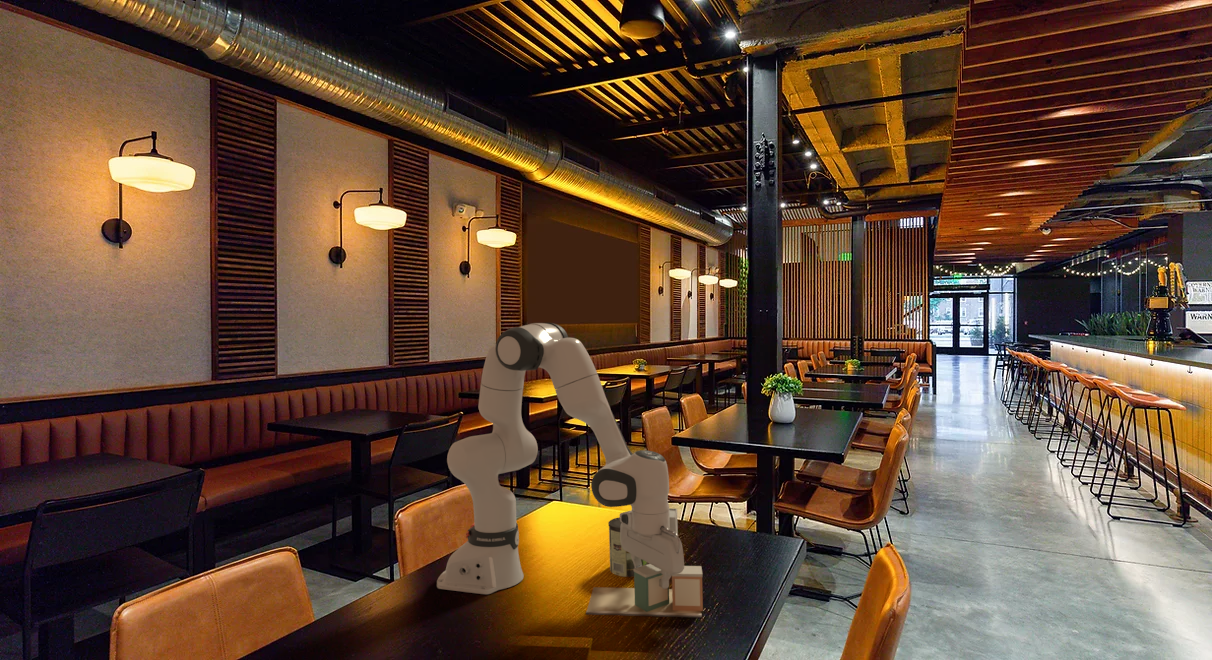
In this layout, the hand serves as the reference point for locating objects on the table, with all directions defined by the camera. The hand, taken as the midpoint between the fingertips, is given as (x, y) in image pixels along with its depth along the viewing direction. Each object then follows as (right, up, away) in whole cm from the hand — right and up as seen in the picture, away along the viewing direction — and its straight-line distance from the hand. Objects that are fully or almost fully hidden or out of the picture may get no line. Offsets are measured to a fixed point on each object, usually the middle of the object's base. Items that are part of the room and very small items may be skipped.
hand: (651, 580), depth 138 cm
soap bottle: (+6, -7, +33) cm, 34 cm away
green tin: (0, -6, 0) cm, 6 cm away
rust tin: (+8, -5, -2) cm, 10 cm away
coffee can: (-5, -8, +21) cm, 22 cm away
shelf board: (-1, -7, +2) cm, 7 cm away
